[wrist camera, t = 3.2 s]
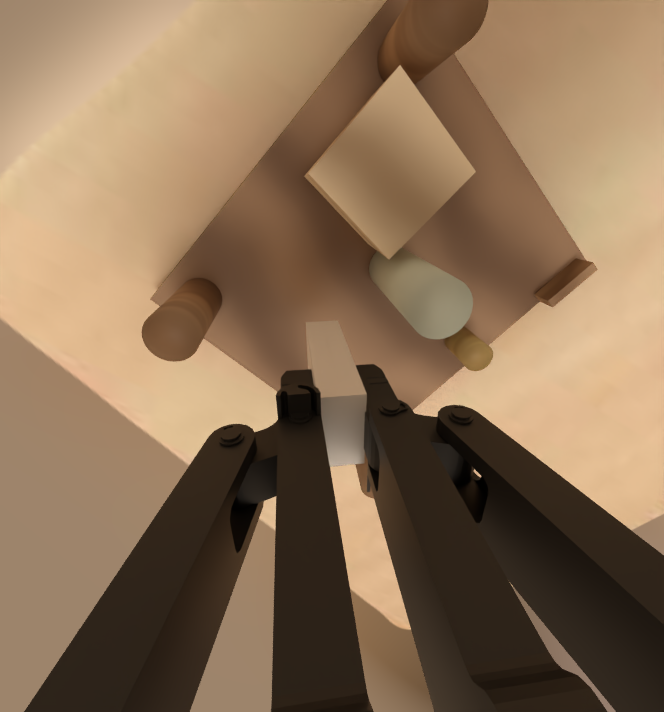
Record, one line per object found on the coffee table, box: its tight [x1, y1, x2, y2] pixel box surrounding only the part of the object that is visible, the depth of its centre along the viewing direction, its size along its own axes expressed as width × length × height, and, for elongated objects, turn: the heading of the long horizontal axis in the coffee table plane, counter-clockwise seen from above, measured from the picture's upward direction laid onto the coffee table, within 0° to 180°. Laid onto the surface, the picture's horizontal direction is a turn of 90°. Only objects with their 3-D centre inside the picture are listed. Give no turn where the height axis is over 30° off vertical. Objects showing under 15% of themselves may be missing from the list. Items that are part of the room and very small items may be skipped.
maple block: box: [304, 65, 476, 259], centre depth 17 cm, size 5×5×5 cm
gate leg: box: [369, 248, 473, 340], centre depth 18 cm, size 6×3×8 cm, turn 46°
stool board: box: [142, 0, 598, 498], centre depth 20 cm, size 20×18×8 cm
